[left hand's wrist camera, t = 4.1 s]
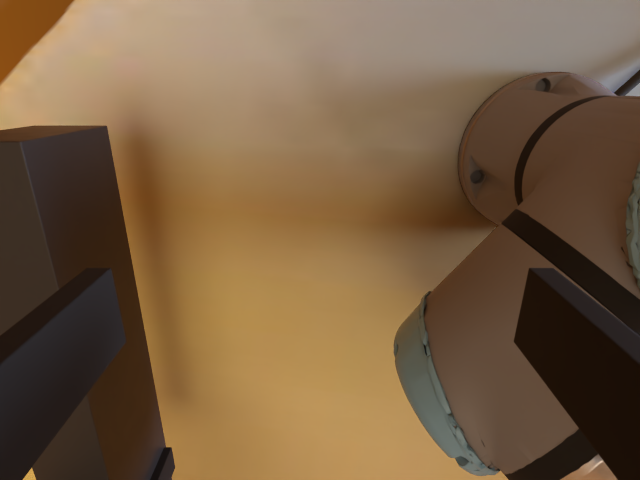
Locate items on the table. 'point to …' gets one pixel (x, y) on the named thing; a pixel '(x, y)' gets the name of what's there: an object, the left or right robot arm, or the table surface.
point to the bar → (61, 267)
